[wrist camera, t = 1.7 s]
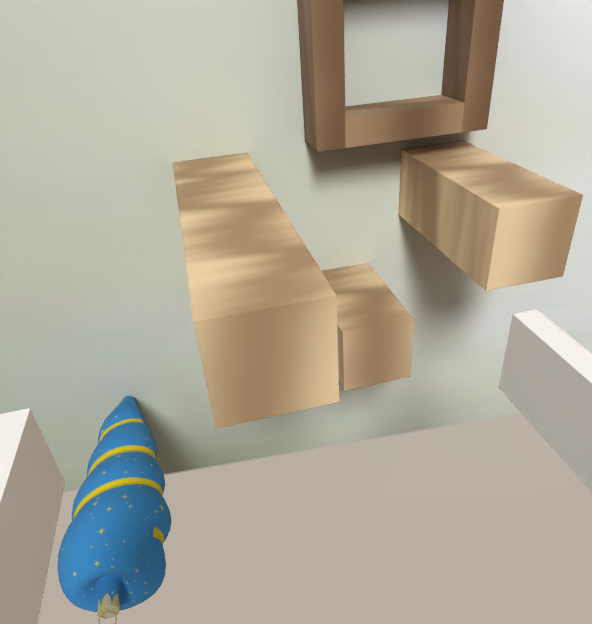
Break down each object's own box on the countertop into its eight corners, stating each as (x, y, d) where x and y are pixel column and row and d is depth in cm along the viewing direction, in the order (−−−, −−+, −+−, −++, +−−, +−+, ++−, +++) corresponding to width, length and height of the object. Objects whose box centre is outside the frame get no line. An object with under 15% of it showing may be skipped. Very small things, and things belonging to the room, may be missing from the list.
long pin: (186, 232, 29) (215, 428, 16) (172, 162, 27) (193, 321, 14) (255, 221, 30) (339, 401, 16) (247, 152, 27) (336, 295, 14)
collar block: (304, 140, 28) (317, 151, 26) (293, -77, 23) (307, -84, 21) (463, 119, 29) (486, 129, 27) (485, -87, 24) (516, -96, 22)
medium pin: (398, 214, 32) (486, 291, 23) (401, 149, 29) (499, 208, 21) (457, 205, 32) (562, 276, 24) (464, 141, 30) (582, 194, 22)
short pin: (311, 325, 34) (344, 391, 29) (308, 273, 32) (342, 333, 26) (367, 314, 35) (409, 376, 29) (367, 262, 33) (413, 319, 27)
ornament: (159, 429, 36) (163, 657, 23) (80, 425, 34) (40, 669, 22) (172, 371, 34) (184, 589, 21) (89, 363, 32) (49, 596, 19)
